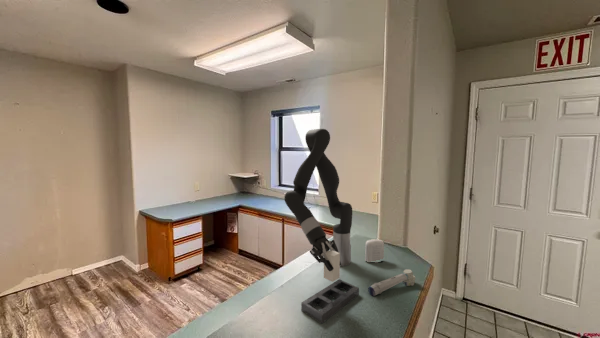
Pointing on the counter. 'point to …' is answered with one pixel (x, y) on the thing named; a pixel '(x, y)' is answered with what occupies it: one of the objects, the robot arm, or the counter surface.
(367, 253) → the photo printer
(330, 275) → the peg
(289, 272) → the counter surface
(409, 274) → the grey knobbed rod
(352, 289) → the grey holed base
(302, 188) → the robot arm
